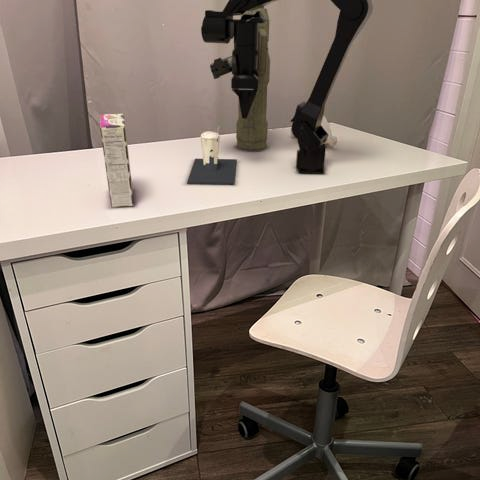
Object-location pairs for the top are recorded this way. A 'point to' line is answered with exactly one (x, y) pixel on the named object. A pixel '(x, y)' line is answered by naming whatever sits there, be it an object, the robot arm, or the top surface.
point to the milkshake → (210, 150)
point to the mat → (213, 173)
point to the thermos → (257, 97)
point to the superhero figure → (331, 139)
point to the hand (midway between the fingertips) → (244, 114)
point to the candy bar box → (116, 160)
